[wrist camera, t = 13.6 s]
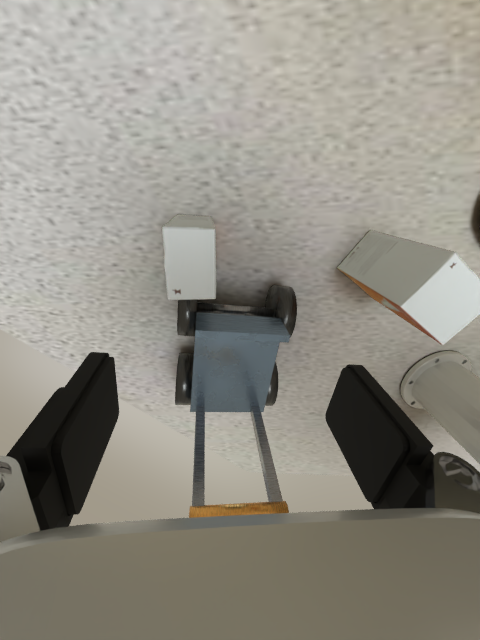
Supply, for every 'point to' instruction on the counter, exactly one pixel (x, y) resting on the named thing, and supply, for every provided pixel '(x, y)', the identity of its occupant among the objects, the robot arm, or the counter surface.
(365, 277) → the small box
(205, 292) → the skincare box
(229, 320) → the trolley
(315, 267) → the counter surface
